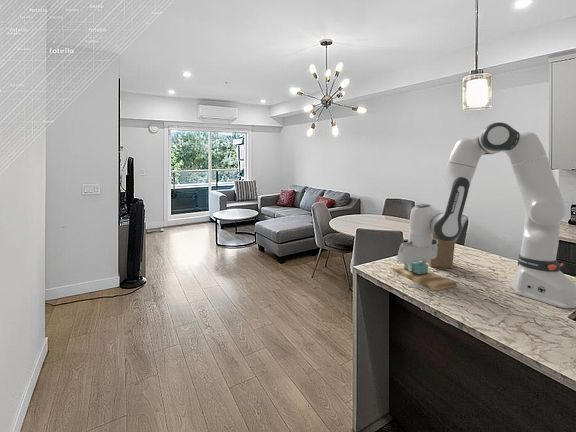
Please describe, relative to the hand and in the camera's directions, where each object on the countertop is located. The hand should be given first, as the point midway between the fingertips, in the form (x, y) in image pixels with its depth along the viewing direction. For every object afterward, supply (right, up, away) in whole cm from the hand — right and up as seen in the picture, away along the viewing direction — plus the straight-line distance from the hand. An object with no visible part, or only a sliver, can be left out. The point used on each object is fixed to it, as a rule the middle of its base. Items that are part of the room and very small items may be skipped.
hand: (416, 269), depth 142 cm
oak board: (+2, -3, -3) cm, 4 cm away
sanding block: (0, -1, 0) cm, 1 cm away
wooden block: (+18, 0, +15) cm, 23 cm away
